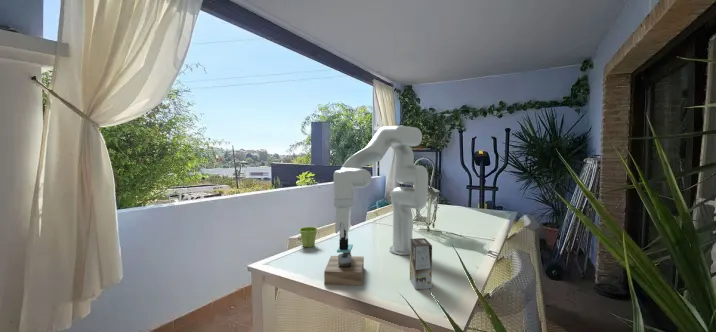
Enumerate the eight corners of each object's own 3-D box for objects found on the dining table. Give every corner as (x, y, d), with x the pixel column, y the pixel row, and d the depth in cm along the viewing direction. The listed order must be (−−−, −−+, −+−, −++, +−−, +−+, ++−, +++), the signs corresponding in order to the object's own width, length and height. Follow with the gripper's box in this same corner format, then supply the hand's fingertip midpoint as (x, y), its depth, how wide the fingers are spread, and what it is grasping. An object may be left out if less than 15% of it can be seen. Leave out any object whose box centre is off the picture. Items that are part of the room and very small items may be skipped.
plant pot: (312, 241, 165) (311, 225, 165) (321, 246, 158) (321, 229, 157) (296, 245, 160) (296, 228, 159) (305, 250, 152) (304, 232, 152)
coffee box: (432, 288, 111) (433, 245, 110) (415, 289, 111) (415, 246, 109) (424, 277, 120) (425, 237, 119) (408, 278, 120) (409, 238, 119)
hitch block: (331, 267, 131) (330, 245, 130) (363, 268, 130) (363, 246, 129) (324, 284, 115) (324, 259, 114) (361, 285, 114) (361, 260, 113)
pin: (352, 274, 123) (351, 253, 122) (350, 279, 118) (350, 258, 117) (339, 273, 123) (339, 253, 123) (337, 279, 118) (337, 257, 117)
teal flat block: (340, 246, 128) (340, 244, 128) (352, 246, 128) (352, 244, 128) (337, 252, 116) (337, 250, 116) (350, 252, 116) (350, 250, 116)
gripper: (336, 198, 125) (337, 242, 126) (330, 206, 110) (331, 255, 111) (355, 198, 124) (355, 243, 126) (351, 206, 109) (351, 256, 111)
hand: (343, 248), depth 118 cm, fingers closed
